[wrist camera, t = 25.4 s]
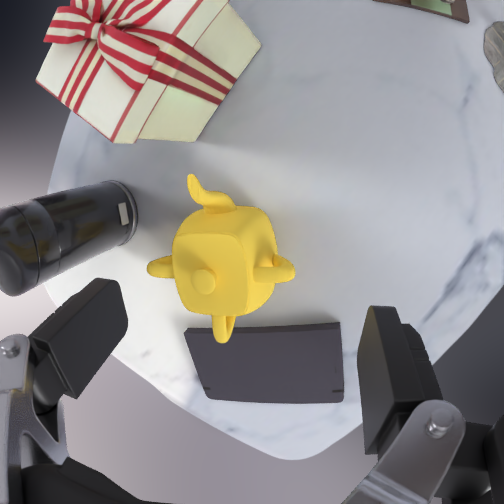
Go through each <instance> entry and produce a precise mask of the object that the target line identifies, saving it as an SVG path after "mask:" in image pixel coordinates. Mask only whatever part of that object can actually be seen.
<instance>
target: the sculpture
mask: <svg viewBox="0 0 504 504" xmlns="http://www.w3.org/2000/svg"><path fill="white" fill-rule="evenodd" d="M484 50H485V55H486V56H487V58H488V60H489V61H490V63H491V64H492V66H493V67H494V69H495V71H494V78H495V80H496V81H497V83H498V85H499V87H500V88H501V89H502V91H503V92H504V22H496V23H494V24H493V26H492V27H489V28H488V29H487V30H486V33H485V41H484Z"/></svg>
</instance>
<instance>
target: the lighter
mask: <svg viewBox="0 0 504 504" xmlns="http://www.w3.org/2000/svg"><path fill="white" fill-rule="evenodd" d="M440 1H442V2H443V3H446V4H451V3H453V2H454V1H455V0H440Z"/></svg>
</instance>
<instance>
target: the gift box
mask: <svg viewBox="0 0 504 504" xmlns="http://www.w3.org/2000/svg"><path fill="white" fill-rule="evenodd" d="M229 1H230V0H71V3H70V6H61V7H58V8H57V10H56V13H55V15H54V17H53V20H52V22H51V24H50V26H49V29H48V31H47V33H46V36H45V38H44V42H53V44H52V46H51V48H50V50H49V52H48V54H47V56H46V59H45V61H44V63H43V65H42V67H41V70H40V72H39V74H38V76H37V78H36V83H38V84H39V85H40V86H42V87H43V88H44V89H46V90H47V91H48V92H50V93H51V94H52V95H53V96H55V97H56V98H57V99H58V100H59V101H61V102H62V103H63V104H65V105H66V106H67V107H68V108H70V109H71V110H72V111H73V112H74V113H76V114H77V115H78V116H80V117H81V118H82V119H84V120H85V121H86V122H87V123H89V124H90V125H91V126H92V127H94V128H95V129H96V130H97V131H99V132H100V133H101V134H102V135H104V136H105V137H106V138H108V139H109V140H110V141H111V142H112V143H124V144H134V143H135V142H136V141H137V139H153V140H169V141H183V142H195V140H196V139H197V138H198V136H199V135H200V133H201V132H202V130H203V129H204V127H205V125H206V124H207V122H208V121H209V119H210V118H211V116H212V115H213V113H214V112H215V110H216V109H217V107H218V106H219V105H220V103H221V102H222V101H223V99H224V98H225V96H226V95H227V93H228V92H229V91H230V89H231V88H232V86H233V85H234V83H235V82H236V80H237V79H238V77H239V76H240V74H241V73H242V72H243V70H244V69H245V68H246V66H247V65H248V64H249V62H250V61H251V59H252V58H253V57H254V55H255V54H256V53H257V51H258V50H259V49H260V47H261V43H260V42H259V41H258V39H257V38H256V37H255V35H254V34H253V33H252V32H251V30H250V29H249V28H248V26H247V25H246V24H245V23H244V21H243V20H242V19H241V17H240V16H239V15H238V14H237V13H236V11H235V10H234V9H233V8H232V7H231V5H230V4H229V3H228V2H229Z"/></svg>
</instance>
